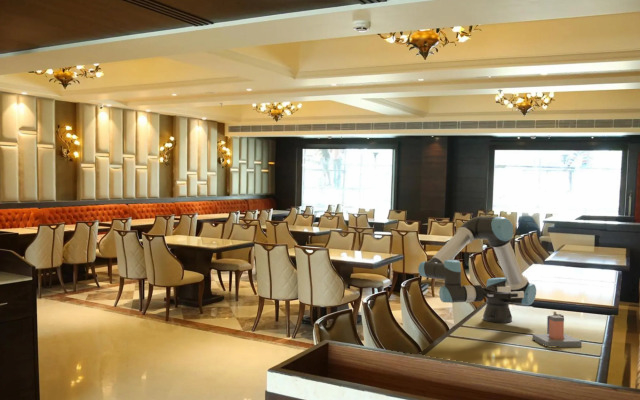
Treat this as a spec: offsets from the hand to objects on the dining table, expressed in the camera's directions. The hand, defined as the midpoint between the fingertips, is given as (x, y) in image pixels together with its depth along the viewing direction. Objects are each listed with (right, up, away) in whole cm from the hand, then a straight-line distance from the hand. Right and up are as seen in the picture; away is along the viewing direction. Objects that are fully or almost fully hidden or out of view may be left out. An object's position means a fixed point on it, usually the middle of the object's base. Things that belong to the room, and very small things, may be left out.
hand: (516, 291), depth 261 cm
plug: (+16, -23, -5) cm, 28 cm away
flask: (+24, -23, +13) cm, 36 cm away
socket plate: (+16, -23, -5) cm, 28 cm away
